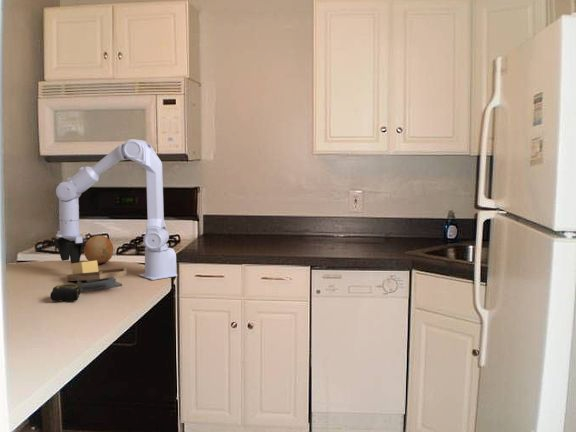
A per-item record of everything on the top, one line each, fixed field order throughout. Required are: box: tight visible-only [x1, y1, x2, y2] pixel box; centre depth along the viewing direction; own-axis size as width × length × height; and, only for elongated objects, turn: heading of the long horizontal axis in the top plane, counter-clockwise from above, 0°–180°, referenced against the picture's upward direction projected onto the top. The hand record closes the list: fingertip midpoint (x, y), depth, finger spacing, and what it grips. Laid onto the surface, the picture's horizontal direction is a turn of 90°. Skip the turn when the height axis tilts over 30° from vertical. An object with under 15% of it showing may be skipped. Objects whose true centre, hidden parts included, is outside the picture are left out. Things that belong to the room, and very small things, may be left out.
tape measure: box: [50, 283, 82, 303], centre depth 142 cm, size 7×7×4 cm
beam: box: [67, 267, 128, 282], centre depth 156 cm, size 8×22×3 cm, turn 45°
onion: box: [83, 235, 114, 265], centre depth 186 cm, size 10×10×10 cm
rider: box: [71, 260, 99, 274], centre depth 162 cm, size 5×8×4 cm, turn 45°
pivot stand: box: [73, 277, 123, 293], centre depth 157 cm, size 12×8×2 cm, turn 135°
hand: (70, 262), depth 169 cm, fingers open, 7 cm apart
